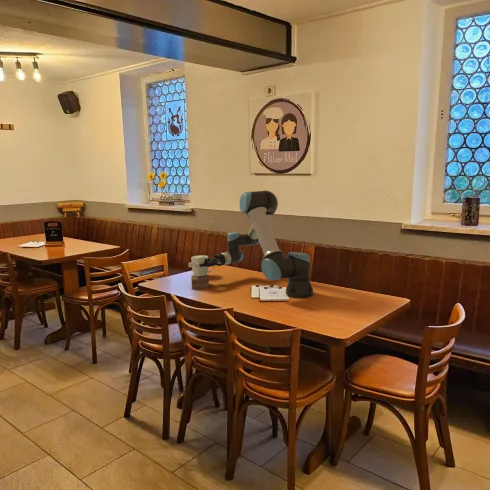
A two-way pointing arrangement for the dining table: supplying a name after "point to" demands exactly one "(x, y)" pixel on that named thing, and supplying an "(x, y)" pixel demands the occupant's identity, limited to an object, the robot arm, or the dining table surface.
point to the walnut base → (200, 281)
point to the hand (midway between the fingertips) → (191, 265)
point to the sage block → (199, 270)
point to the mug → (205, 267)
